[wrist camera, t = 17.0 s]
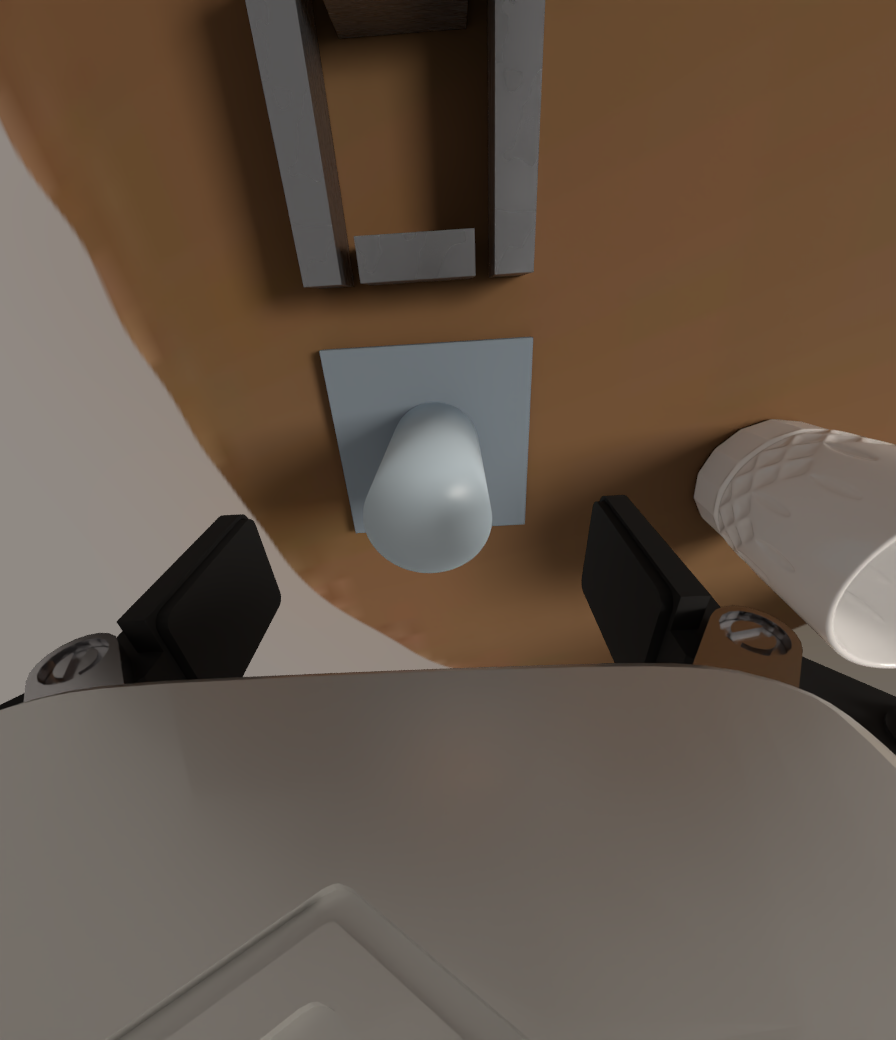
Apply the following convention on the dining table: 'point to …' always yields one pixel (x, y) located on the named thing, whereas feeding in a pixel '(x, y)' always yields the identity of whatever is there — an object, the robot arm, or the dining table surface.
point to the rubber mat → (434, 378)
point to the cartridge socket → (310, 152)
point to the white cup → (813, 527)
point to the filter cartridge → (430, 492)
